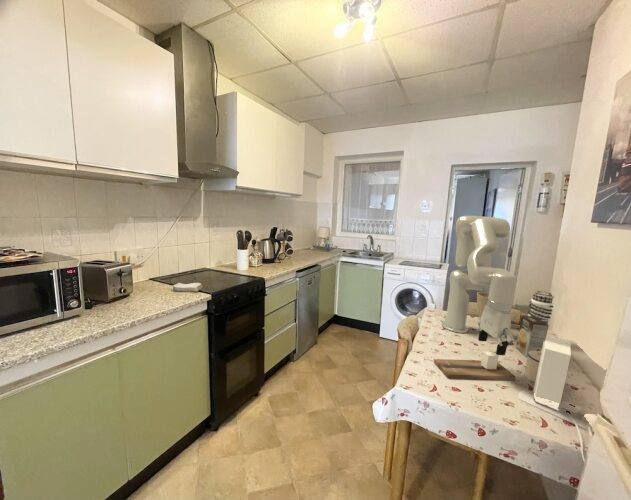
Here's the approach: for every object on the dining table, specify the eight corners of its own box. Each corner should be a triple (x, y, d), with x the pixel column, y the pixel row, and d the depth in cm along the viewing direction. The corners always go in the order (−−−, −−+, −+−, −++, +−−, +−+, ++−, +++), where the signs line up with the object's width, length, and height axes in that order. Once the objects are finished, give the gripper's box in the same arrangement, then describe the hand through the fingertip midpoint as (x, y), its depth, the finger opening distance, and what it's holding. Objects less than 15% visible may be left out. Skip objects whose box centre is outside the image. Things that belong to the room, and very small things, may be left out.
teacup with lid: (556, 391, 92) (563, 360, 90) (524, 379, 97) (529, 350, 96) (552, 375, 102) (558, 347, 100) (522, 366, 107) (528, 339, 105)
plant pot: (509, 328, 145) (514, 300, 142) (483, 327, 144) (488, 299, 142) (491, 317, 159) (495, 292, 157) (467, 316, 159) (471, 291, 157)
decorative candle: (536, 335, 137) (545, 289, 134) (551, 344, 128) (561, 295, 124) (518, 334, 137) (527, 288, 134) (532, 343, 128) (541, 294, 125)
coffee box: (514, 347, 123) (520, 314, 121) (529, 349, 122) (536, 316, 119) (525, 357, 114) (532, 322, 112) (542, 359, 113) (549, 324, 111)
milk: (532, 393, 90) (544, 332, 87) (556, 401, 87) (569, 338, 84) (534, 402, 85) (546, 338, 82) (559, 411, 82) (573, 345, 79)
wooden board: (433, 362, 105) (434, 358, 105) (495, 364, 107) (496, 360, 106) (447, 378, 95) (448, 374, 95) (515, 380, 97) (516, 376, 97)
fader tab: (480, 364, 102) (483, 351, 102) (490, 364, 103) (493, 351, 102) (486, 369, 99) (488, 355, 99) (496, 369, 100) (498, 355, 99)
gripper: (474, 296, 106) (467, 336, 109) (507, 314, 89) (498, 360, 92) (492, 297, 106) (484, 336, 109) (528, 315, 89) (518, 361, 92)
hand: (490, 347), depth 101 cm, fingers open, 9 cm apart
